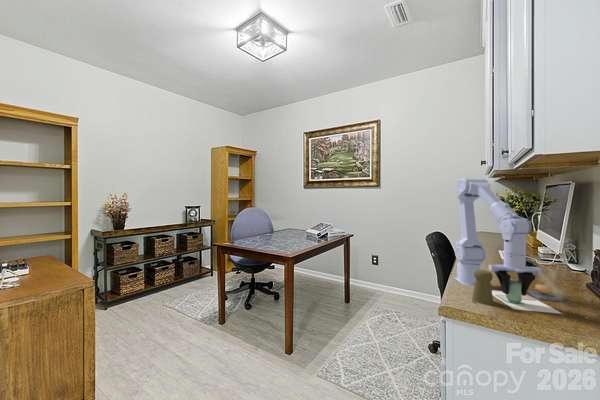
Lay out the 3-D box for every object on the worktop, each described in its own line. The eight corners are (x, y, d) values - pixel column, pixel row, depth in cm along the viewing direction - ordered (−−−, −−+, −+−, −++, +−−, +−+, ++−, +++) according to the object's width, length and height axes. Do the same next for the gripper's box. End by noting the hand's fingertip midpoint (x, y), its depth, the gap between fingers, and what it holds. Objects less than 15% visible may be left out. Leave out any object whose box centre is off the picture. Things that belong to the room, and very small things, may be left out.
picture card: (484, 291, 98) (484, 289, 98) (523, 294, 95) (523, 292, 95) (513, 310, 80) (513, 308, 80) (562, 315, 77) (562, 313, 77)
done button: (532, 288, 94) (532, 283, 94) (546, 289, 93) (546, 284, 93) (540, 292, 89) (541, 287, 89) (555, 293, 89) (555, 288, 89)
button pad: (525, 294, 95) (525, 289, 95) (547, 295, 94) (547, 290, 94) (539, 301, 88) (539, 295, 88) (563, 303, 87) (563, 297, 87)
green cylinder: (503, 299, 88) (503, 279, 88) (516, 300, 87) (516, 279, 87) (511, 303, 84) (511, 282, 84) (525, 304, 83) (525, 283, 83)
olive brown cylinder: (484, 307, 82) (484, 273, 82) (467, 300, 88) (468, 268, 88) (498, 305, 84) (498, 272, 84) (480, 298, 90) (481, 267, 90)
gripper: (496, 254, 83) (496, 296, 83) (548, 257, 80) (548, 300, 80) (485, 250, 90) (484, 288, 90) (533, 253, 87) (532, 292, 87)
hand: (513, 293), depth 86 cm, fingers open, 4 cm apart
